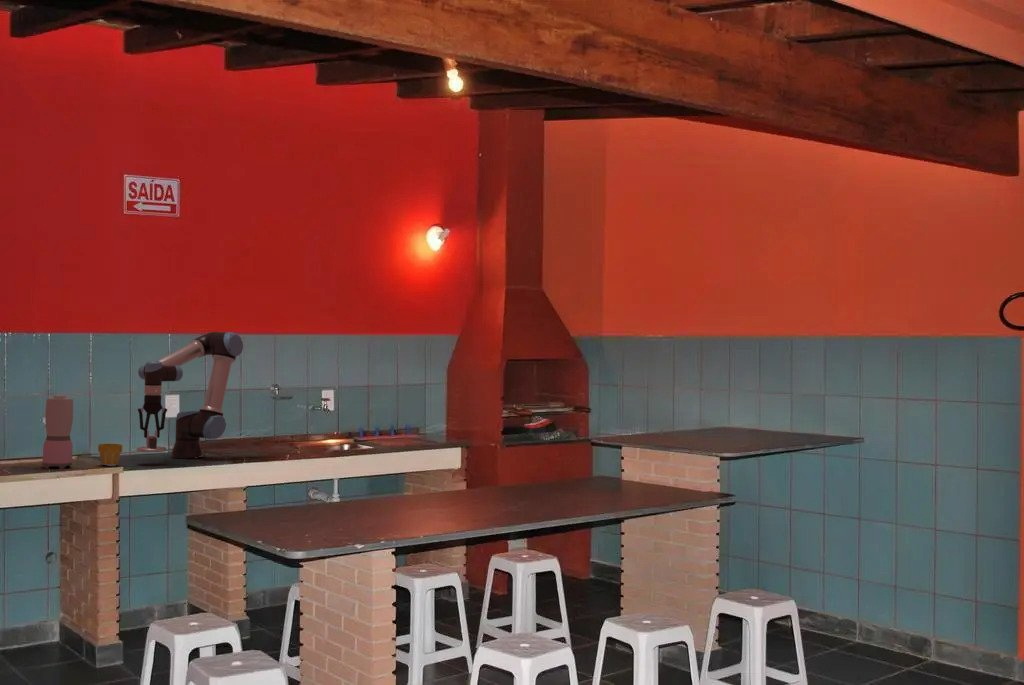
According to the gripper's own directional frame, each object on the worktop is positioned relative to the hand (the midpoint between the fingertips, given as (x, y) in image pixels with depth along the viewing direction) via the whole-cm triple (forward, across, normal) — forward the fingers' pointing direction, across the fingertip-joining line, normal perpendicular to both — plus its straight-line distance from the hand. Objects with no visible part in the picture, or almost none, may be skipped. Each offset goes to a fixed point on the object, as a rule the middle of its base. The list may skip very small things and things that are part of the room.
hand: (151, 444), depth 504 cm
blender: (+9, -40, -5) cm, 42 cm away
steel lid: (+3, 0, 0) cm, 3 cm away
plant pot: (+9, -18, -2) cm, 21 cm away
